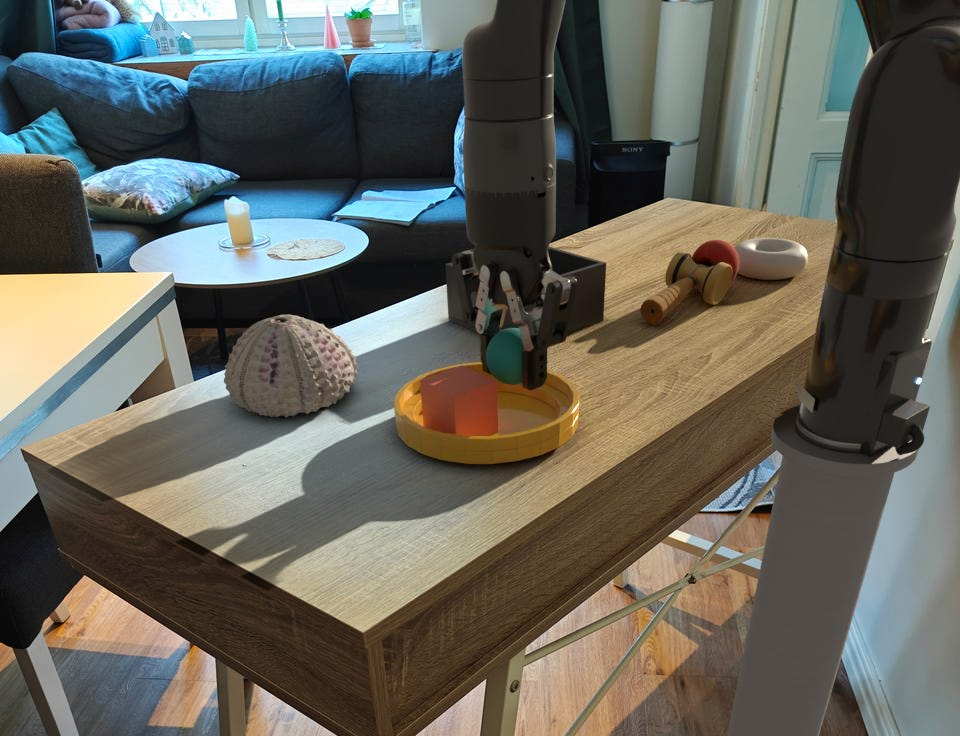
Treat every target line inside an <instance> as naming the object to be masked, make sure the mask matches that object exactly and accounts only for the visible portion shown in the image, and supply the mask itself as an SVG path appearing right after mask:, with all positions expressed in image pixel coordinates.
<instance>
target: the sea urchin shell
mask: <svg viewBox="0 0 960 736" xmlns="http://www.w3.org/2000/svg"><path fill="white" fill-rule="evenodd" d="M356 359H357V356H356V355H354V353H353V351H352V349H351V348H349V346H348V344H347V343H346V342H345V341H344V340H343V339H342V337H341V336H340V335H338V334H336V333H335V332H334V331H333V329H332V328H328V327H326V326H325V324H324V323H319V322H317V321H315V320H312V319H307V318H304V316H302V317H301V316H299V315H293V314H280V315H275V316H272V317H268V318H265V319H262V320H260V321H259V320H258V321H257V322H255V323H253V324H252V325H250V326H249V327H248V328H247V329H246V330H245V331H243V332H242V334H241V336H240V337H238V338H237V341H236V344H235V345H232V351H231V353H229V354H228V360H227V363H226V364H225V365H224V368H225V371H224V372H223V374H224V378H223V383H224V384H225V390H226V391H227V392H228V393H229V397H230V398H231V399H232V402H233V403H235V404H237V406H238V408H244V409H245V410H246V411H248V412H249V413H251V412H253V413H257V414H259V415H260V416H264V417H266V416H267V417H268V416H269V417H270V418H273V417H275V418H279V417H280V416H282V417H285V418H289V417H295V416H297V415H298V414H306V415H308V414H309V413H311V412H318V410H319V409H320V408H329V407H330V406H332V405H334V404H336V403H337V401H338V400H342V399H343V398H344V395H345V394H348V393H350V389H351V386H352V385H353V384H354V383H356V377H357V376H358V375H359V373H358V370H357V368H358V367H359V364H358V363H357V362H356Z"/></svg>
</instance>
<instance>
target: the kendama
mask: <svg viewBox="0 0 960 736" xmlns="http://www.w3.org/2000/svg"><path fill="white" fill-rule="evenodd" d="M734 247H735V246H733V245H732V244H731V243H730V242H729V241H726V240H723V239H711V240H708V241H705V242H703V243H702V244H700V246H698V247H696V249H695V251H694V252H693V254H692V255H691V253H690V252H688V251H684V250H679V251H677V252H676V253H675V254H674V255H673V256H672V257H671V259H670V261H669V263H668V265H667V268H666V272H665V276H664V277H665V285H666V286H667V287H665V288H664V289H662V290H661V291H659V292H657V293H656V294H654V295H653V296H651V297H648V298H647V299H646V300H644V301H643V302H642V303H641V305H640V315H641V317H642V319H643V320H644V321H645V322H646V323H647V324H649V325H651V326H652V325H658V324H659V323H661V322H662V321H663V320H664V318H666V316H667V315H668V314H669V313H670V312H672V311H673V310H674V309H675V308H676V307H677V306H678V305H679V304H680V303H681V302H682V301H683V300H684V299H685V298H686V297H687V296H688V294H689V293H690V292H691V291H692V290H693V289H695V290H696V291H699V292H700V294H701V296H702V298H703V302H705V303H706V304H710V305H713V306H715V305H718V304H719V303H720V302H721V301H722V300H723V299H724V297H725V295H726V294H727V293H728V290H729V288H730V287H731V283H732V282H733V281H734V280H735V278H736V277H737V275H738V273H737V272H738V269H739V257H738V254H737V251H736V250H735V248H734Z"/></svg>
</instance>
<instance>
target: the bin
mask: <svg viewBox="0 0 960 736" xmlns="http://www.w3.org/2000/svg"><path fill="white" fill-rule="evenodd" d="M548 254H549V258H550V261H551V265H552V271H554V272H555V273H557V274H558V275H560V276H561V277H563V278H565V277H569V276H573V277H575V279H576V281H577V289H576V294H575V299H574V303H573V308H572V313H571V318H570V323H569V327H568V332H567V334H569V333H571V332H575V331H577V330H580V329H582V328H585V327H589V326H591V325H594V324H597V323H600V322H603V321H604V315H605V298H606V278H607V262H606V261H601V260H598V259H594V258H592V257H588V256H583V255H580V254H576V253H573V252H571V251H566V250H563V249H560V248H556V247H552V246H549V247H548ZM444 266H445V280H446V282H445V283H446V298H447V299H446V300H447V302H446V303H447V315H448V316H447V317H448V318H447V319H448V321H449V322H451V323H454V324H456V325H458V326H461V327H464V328H467V329H468V330H471V331H473V332H476V333H478V332H477V330H476V327H475V324H474V323H472V322H466V321H465V320H464V318H463V315H462V310H461V305H460V300H459V295H458V290H457V285H456V279H455V274H454V269H453V264H452V261H451V262H448V263H445V265H444ZM471 300H472V305H473V306H476V295H475V292H472V293H471ZM534 308H535V303H534V304H533V305H531V306H528V307H525V308H524V311H525V312H529V311H532V310H533V309H534ZM492 313H493V312H492ZM531 325H532V329H533V333H534V334H537V328H536V324H535V321H534V320H533V321H532V323H531ZM554 326H555V325H554ZM508 328H519V327H518V326H517V325H515V324H514V323H513V320H512V316H511V312H510V308H507V310H506V314H505V318H504V322H503V326H502V327H500V328H499V329H501V330H504V329H508ZM553 330H554V327H553Z"/></svg>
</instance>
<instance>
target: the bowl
mask: <svg viewBox="0 0 960 736" xmlns="http://www.w3.org/2000/svg"><path fill="white" fill-rule="evenodd" d="M461 365H463V366H466V367H468V368H470V369H472V370H475V371H477V372H479V373H482V374H484V375H486V376H488V377H491V378H493V379H495V380H497V379H496V378H495V377H494V376H493V375H492V374H488V373H486V372H484V371H483V365H482V362H481V361H478V362H468V363H460V364H458V363H457V364H453V365H450V366H444V367H439V368H437V369H433V370H431V371H428V372H425V373H422V374H420V375H418V376H416V377H415V378H413V379H411V380H409V381H408V382H406V383H405V384H404V385H403V386H402V387H401V388H400V389H399V390H398V391H397V393H396V395H395V398H394V399H393V411H394V420H395V421H394V422H395V428H396V432H397V436H398V437H399V438H400V440H402V442H403V443H404V444H405V445H406V446H407V447H409V448H410V449H412V450H414V451H416V452H418V453H419V454H422V455H424V456H426V457H430V458H433V459H437V460H440V461H445V462H451V463H459V464H466V465H494V464H496V465H497V464H503V463H511V462H512V463H513V462H517V461H518V462H519V461H523V460H527V459H532V458H534V457H538V456H542V455H544V454H547V453H549V452H552V451H553V450H555V449H556V450H557V449H558V448H560V447H561V446H563V445H564V444H565V443H566V442H568V441H569V440H571V439H572V437H573V436H574V434H575V433H576V432H577V430H578V428H579V421H580V420H579V419H580V418H579V417H580V392H579V390H578V388H577V387H576V385H575V384H574V382H572V381H571V380H569V379H568V378H566V377H565V376H563V374H560V373H558V372H555V371H552V370H551V369H548V368H547V379H546V381H545V382H544V384H543V385H542V386H541V387H539V388H536V389H534V390H531V391H530V390H527V389H525V388H523V386H522V383H521V384H517V385H508V384H504V383H502V382H500V381H498V380H497V391H498V432H496V433H494V434H491V435H489V436H464V435H456V434H449V433H442V432H439V431H435V430H432V429H429V428H425V427H424V426H423V414H422V401H421V388H420V380H422V379H424V378H427V377H430V376H433V375H436V374H439V373H442V372H444V371H447V370H450V369H453V368H456V367H459V366H461Z"/></svg>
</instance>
